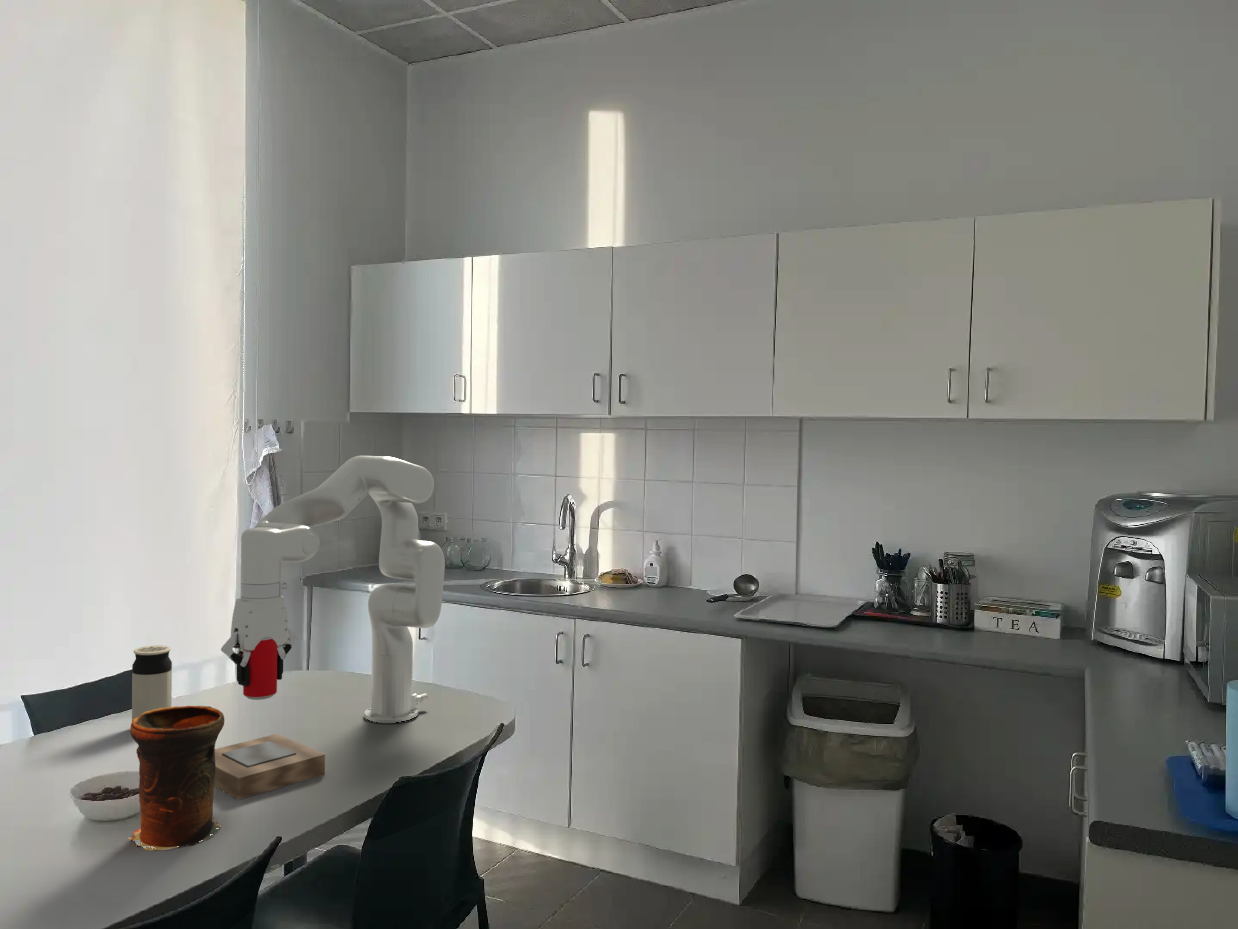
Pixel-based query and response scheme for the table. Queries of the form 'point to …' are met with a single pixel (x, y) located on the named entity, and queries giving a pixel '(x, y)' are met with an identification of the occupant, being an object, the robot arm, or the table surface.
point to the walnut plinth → (265, 765)
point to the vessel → (176, 775)
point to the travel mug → (151, 679)
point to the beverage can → (262, 671)
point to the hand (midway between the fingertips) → (260, 681)
